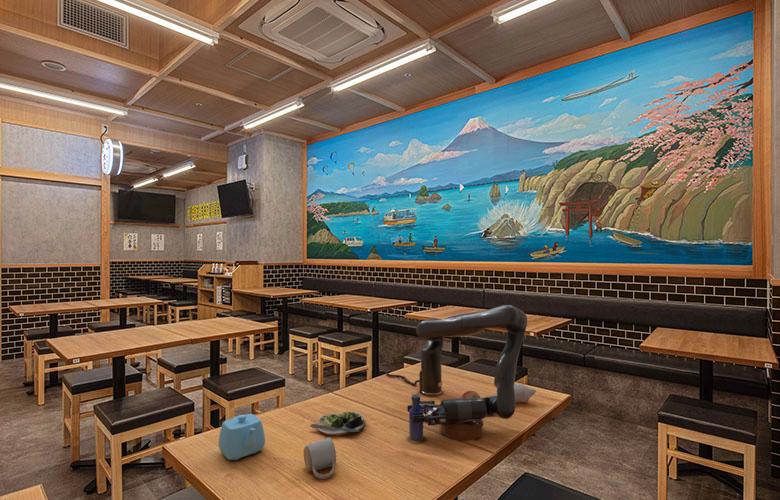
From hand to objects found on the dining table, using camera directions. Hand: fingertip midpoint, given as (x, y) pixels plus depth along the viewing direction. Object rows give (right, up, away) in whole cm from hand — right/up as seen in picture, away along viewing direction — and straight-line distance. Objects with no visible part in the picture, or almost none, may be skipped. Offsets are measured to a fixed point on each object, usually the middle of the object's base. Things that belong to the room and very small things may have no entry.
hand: (410, 413), depth 128 cm
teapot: (-53, -9, -8) cm, 55 cm away
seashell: (+45, -9, +32) cm, 57 cm away
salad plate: (-24, -9, +11) cm, 28 cm away
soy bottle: (+2, -9, 0) cm, 9 cm away
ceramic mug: (-27, -9, -18) cm, 33 cm away
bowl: (+18, -9, +5) cm, 21 cm away
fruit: (+25, -9, +23) cm, 35 cm away
